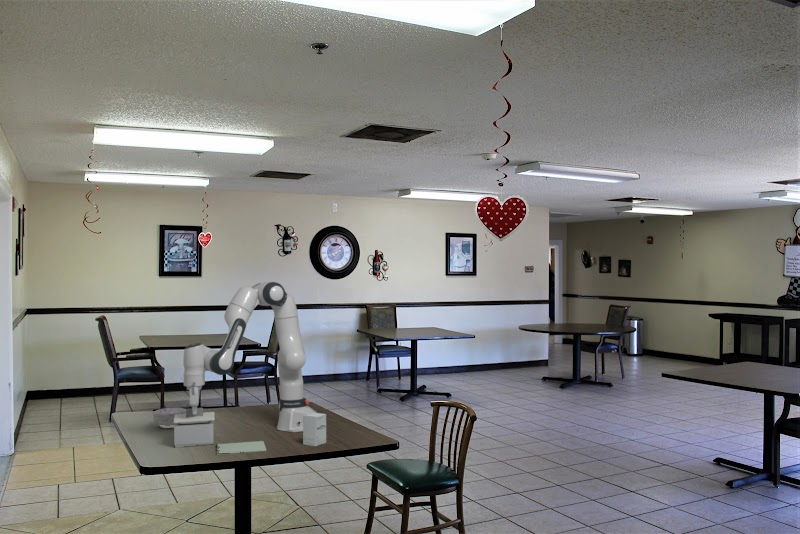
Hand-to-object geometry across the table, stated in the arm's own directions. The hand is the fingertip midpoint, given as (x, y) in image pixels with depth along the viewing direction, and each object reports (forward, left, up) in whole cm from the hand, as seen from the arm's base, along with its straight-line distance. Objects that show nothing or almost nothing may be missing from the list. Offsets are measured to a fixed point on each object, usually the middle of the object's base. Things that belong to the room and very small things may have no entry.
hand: (194, 413), depth 300 cm
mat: (-19, +15, -13) cm, 27 cm away
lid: (0, 0, -4) cm, 4 cm away
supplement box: (-50, +17, -13) cm, 54 cm away
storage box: (0, 0, -13) cm, 13 cm away
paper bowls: (+12, -39, -13) cm, 43 cm away
